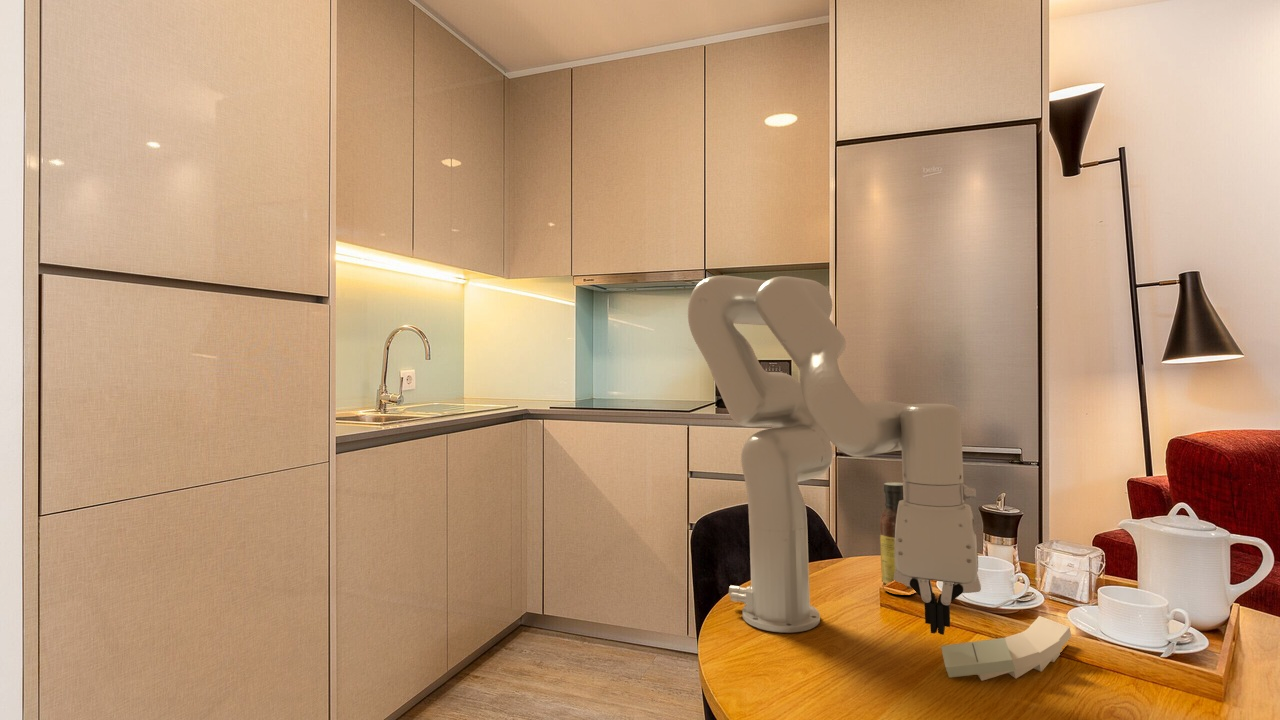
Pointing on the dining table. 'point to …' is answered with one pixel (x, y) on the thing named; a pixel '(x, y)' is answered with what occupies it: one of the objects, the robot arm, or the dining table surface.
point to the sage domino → (977, 657)
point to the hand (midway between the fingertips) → (937, 630)
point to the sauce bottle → (889, 530)
